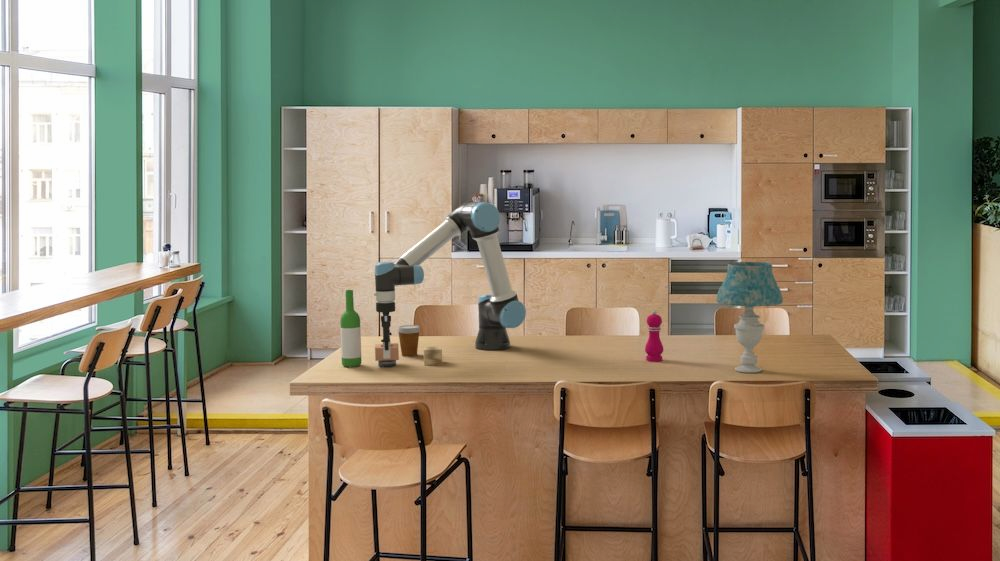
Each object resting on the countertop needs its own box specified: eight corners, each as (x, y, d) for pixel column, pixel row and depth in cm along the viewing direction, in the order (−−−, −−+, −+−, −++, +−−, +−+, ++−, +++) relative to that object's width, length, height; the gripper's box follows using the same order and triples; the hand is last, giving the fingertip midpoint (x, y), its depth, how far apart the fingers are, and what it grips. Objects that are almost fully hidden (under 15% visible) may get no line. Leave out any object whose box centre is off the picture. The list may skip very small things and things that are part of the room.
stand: (441, 361, 396) (441, 346, 396) (442, 364, 390) (441, 349, 389) (423, 361, 396) (423, 347, 395) (424, 365, 389) (424, 350, 388)
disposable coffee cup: (417, 357, 405) (416, 328, 404) (394, 357, 407) (394, 328, 406) (423, 353, 414) (422, 325, 413) (401, 352, 416) (401, 324, 415)
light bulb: (396, 363, 393) (395, 338, 392) (396, 367, 386) (395, 341, 385) (378, 364, 392) (377, 339, 391) (378, 367, 385) (377, 342, 384)
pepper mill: (664, 359, 393) (665, 309, 391) (661, 362, 386) (661, 312, 384) (646, 358, 395) (646, 308, 393) (643, 361, 389) (643, 311, 386)
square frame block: (398, 355, 393) (398, 343, 393) (398, 359, 385) (398, 347, 384) (375, 356, 392) (375, 344, 392) (375, 360, 384) (375, 348, 383)
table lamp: (793, 375, 359) (795, 265, 355) (732, 379, 354) (733, 267, 350) (763, 363, 382) (764, 260, 378) (705, 366, 377) (706, 262, 373)
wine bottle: (345, 368, 385) (342, 291, 382) (339, 365, 392) (336, 289, 389) (364, 366, 389) (362, 290, 385) (357, 363, 396) (355, 288, 392)
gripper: (376, 297, 398) (377, 349, 400) (375, 306, 373) (376, 361, 376) (395, 297, 399) (396, 349, 401) (395, 305, 374) (396, 360, 376)
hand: (387, 355), depth 388 cm, fingers open, 13 cm apart
